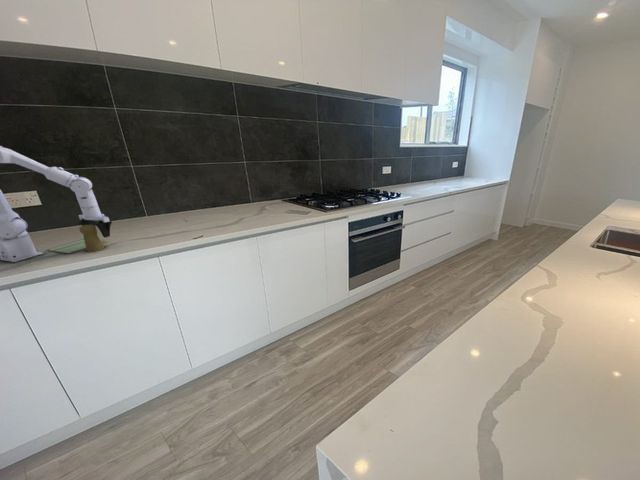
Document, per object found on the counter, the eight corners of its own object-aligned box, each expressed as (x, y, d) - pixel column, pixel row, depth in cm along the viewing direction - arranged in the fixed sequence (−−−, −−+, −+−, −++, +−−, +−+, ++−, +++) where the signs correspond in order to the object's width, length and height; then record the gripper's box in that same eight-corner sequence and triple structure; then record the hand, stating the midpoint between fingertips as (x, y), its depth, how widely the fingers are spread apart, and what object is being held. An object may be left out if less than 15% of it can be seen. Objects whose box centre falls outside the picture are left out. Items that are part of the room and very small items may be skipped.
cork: (88, 252, 130) (78, 228, 125) (84, 249, 133) (75, 225, 128) (106, 248, 134) (97, 225, 130) (102, 245, 137) (93, 222, 133)
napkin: (68, 253, 128) (68, 252, 128) (48, 250, 131) (47, 249, 130) (103, 242, 141) (103, 241, 140) (84, 239, 143) (83, 238, 143)
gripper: (112, 205, 131) (122, 234, 137) (87, 203, 134) (98, 231, 140) (94, 209, 125) (105, 239, 130) (68, 206, 128) (80, 236, 133)
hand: (100, 235), depth 135 cm, fingers open, 7 cm apart
